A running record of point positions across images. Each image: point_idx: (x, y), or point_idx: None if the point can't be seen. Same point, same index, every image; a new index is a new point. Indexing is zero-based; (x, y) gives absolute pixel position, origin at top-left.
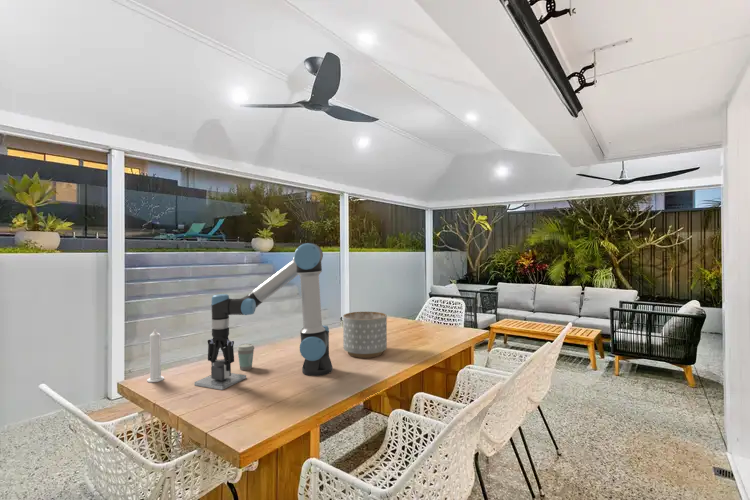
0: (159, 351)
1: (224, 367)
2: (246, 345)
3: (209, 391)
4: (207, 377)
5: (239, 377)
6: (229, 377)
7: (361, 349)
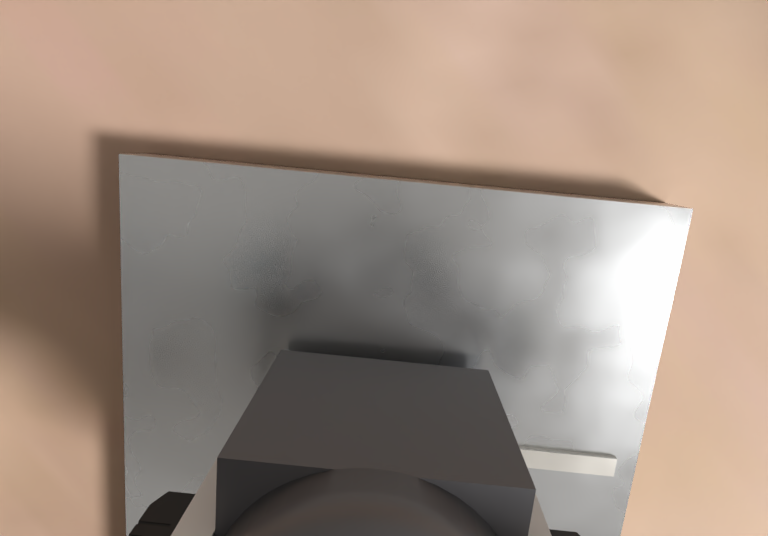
0: None
1: (203, 525)
2: None
3: (282, 52)
4: (611, 430)
5: None
6: None
7: None
